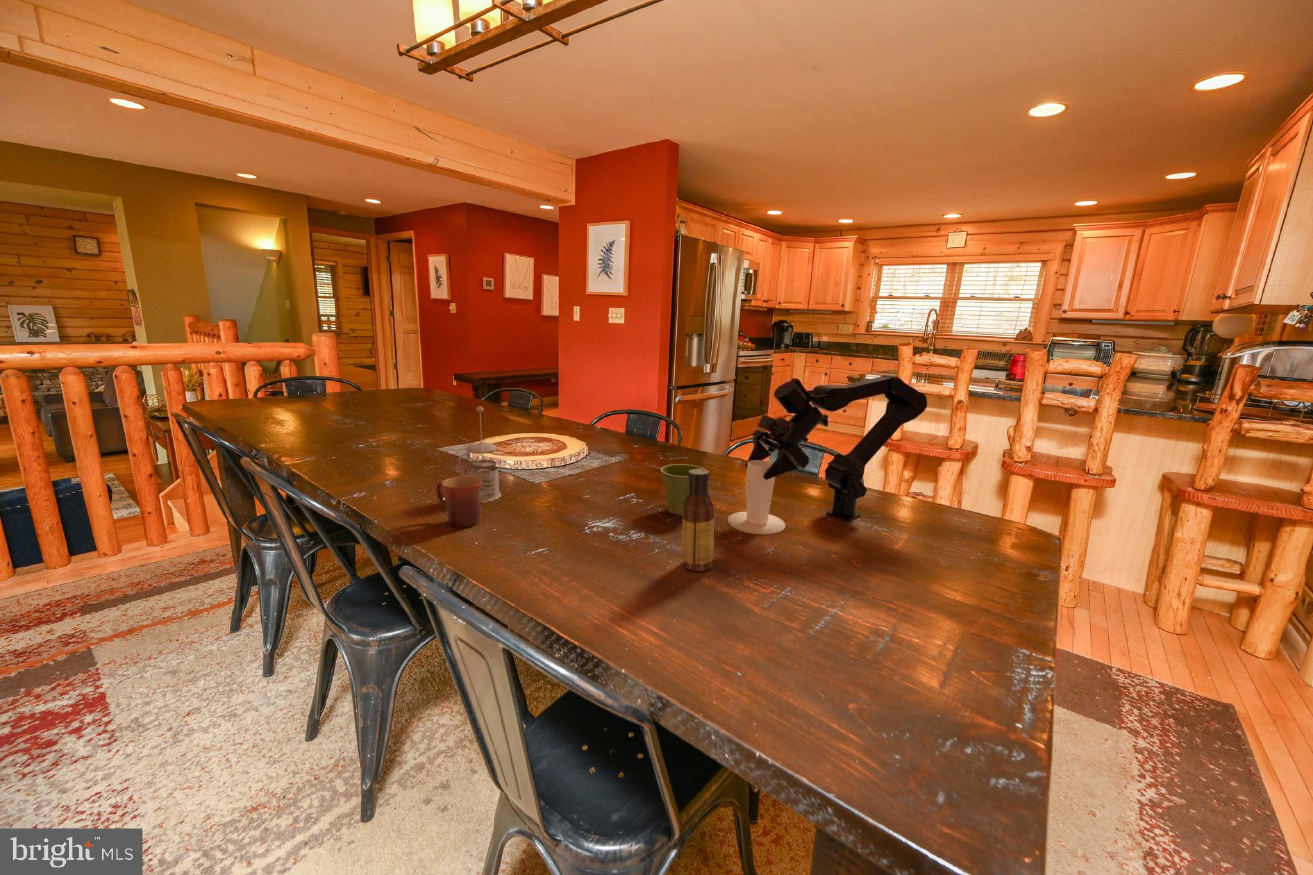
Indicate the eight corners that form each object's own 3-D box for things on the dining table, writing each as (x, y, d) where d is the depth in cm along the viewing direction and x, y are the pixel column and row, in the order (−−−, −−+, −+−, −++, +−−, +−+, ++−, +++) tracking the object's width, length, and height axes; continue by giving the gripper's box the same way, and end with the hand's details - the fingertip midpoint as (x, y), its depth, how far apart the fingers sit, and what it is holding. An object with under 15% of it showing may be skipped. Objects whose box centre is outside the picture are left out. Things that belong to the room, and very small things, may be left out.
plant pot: (714, 514, 128) (716, 472, 126) (677, 523, 122) (678, 479, 119) (686, 500, 138) (687, 461, 135) (650, 508, 131) (651, 467, 129)
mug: (491, 519, 120) (490, 479, 118) (465, 533, 112) (463, 489, 110) (453, 511, 125) (450, 472, 122) (425, 523, 117) (422, 482, 115)
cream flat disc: (750, 508, 133) (750, 507, 133) (796, 524, 123) (796, 523, 123) (716, 521, 124) (716, 519, 124) (762, 539, 114) (762, 538, 114)
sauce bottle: (715, 561, 103) (721, 469, 98) (708, 575, 97) (714, 477, 92) (685, 556, 105) (689, 465, 100) (676, 569, 99) (680, 473, 94)
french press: (496, 504, 130) (492, 410, 125) (452, 503, 130) (446, 408, 125) (507, 492, 140) (504, 404, 134) (466, 490, 140) (461, 402, 134)
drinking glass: (775, 521, 124) (780, 463, 121) (763, 529, 119) (768, 469, 116) (750, 514, 128) (755, 458, 125) (738, 522, 123) (742, 463, 120)
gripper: (761, 397, 127) (719, 441, 126) (802, 410, 109) (753, 461, 109) (786, 427, 131) (745, 470, 130) (829, 444, 113) (782, 493, 113)
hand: (755, 472), depth 120 cm, fingers open, 9 cm apart
